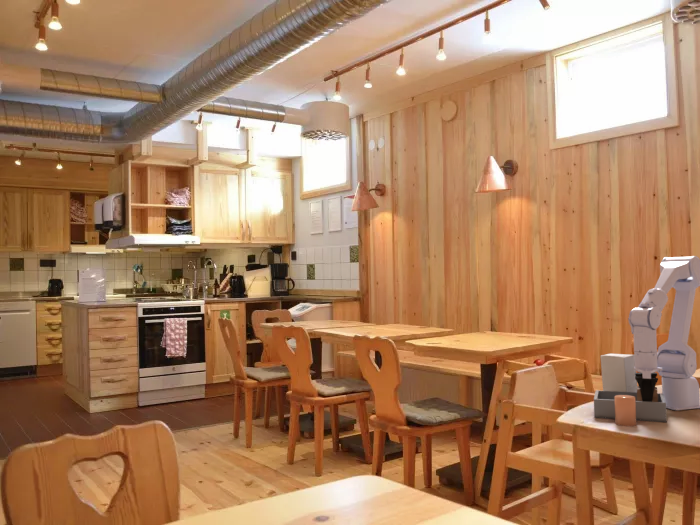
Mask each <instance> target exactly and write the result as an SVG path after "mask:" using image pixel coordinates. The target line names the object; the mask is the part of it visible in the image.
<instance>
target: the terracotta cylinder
mask: <svg viewBox="0 0 700 525" xmlns="http://www.w3.org/2000/svg"><path fill="white" fill-rule="evenodd" d="M614 420H615V422H614V423H615V424H616V425H618V426H623V427H634V426H637V420H636V401H635V397H634V396H630V395H616V396H615V419H614Z"/></svg>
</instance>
